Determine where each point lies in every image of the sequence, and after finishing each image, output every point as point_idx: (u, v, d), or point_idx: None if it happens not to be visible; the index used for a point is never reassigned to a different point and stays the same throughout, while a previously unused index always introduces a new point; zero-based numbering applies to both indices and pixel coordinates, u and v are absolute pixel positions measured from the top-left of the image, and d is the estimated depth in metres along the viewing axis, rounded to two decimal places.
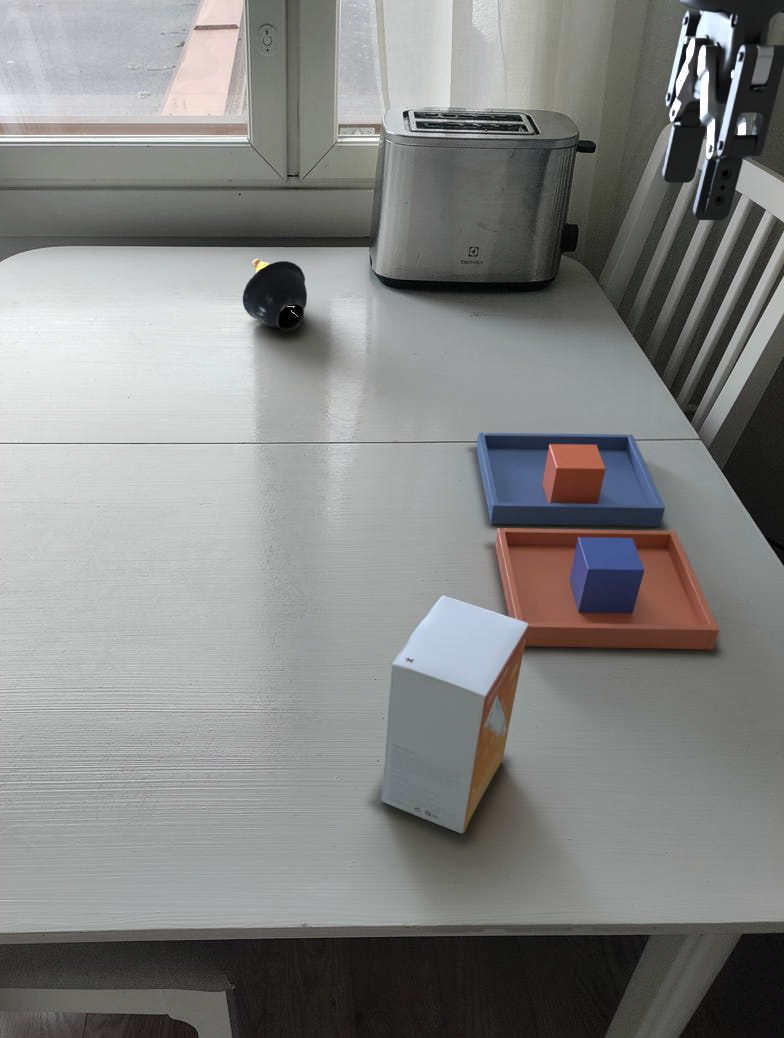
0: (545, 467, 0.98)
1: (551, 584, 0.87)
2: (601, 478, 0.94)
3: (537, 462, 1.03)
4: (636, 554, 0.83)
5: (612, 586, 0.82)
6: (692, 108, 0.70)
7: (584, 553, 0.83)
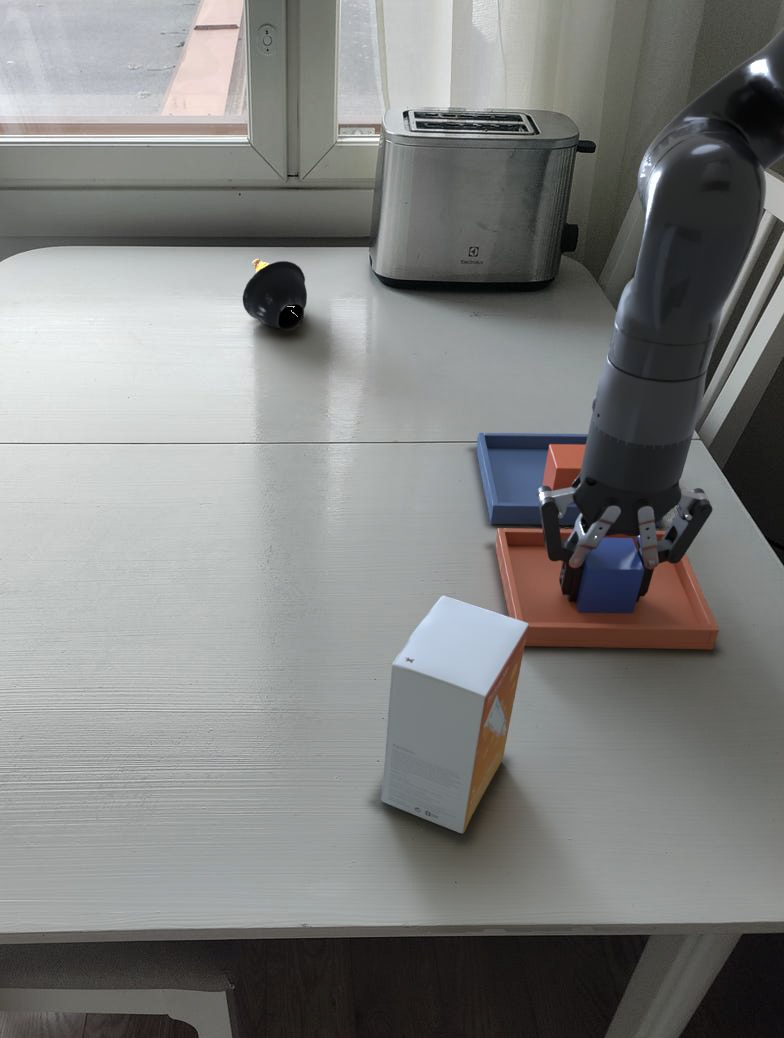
0: (545, 467, 0.98)
1: (551, 584, 0.87)
2: None
3: (537, 462, 1.03)
4: (636, 554, 0.83)
5: (612, 586, 0.82)
6: None
7: None
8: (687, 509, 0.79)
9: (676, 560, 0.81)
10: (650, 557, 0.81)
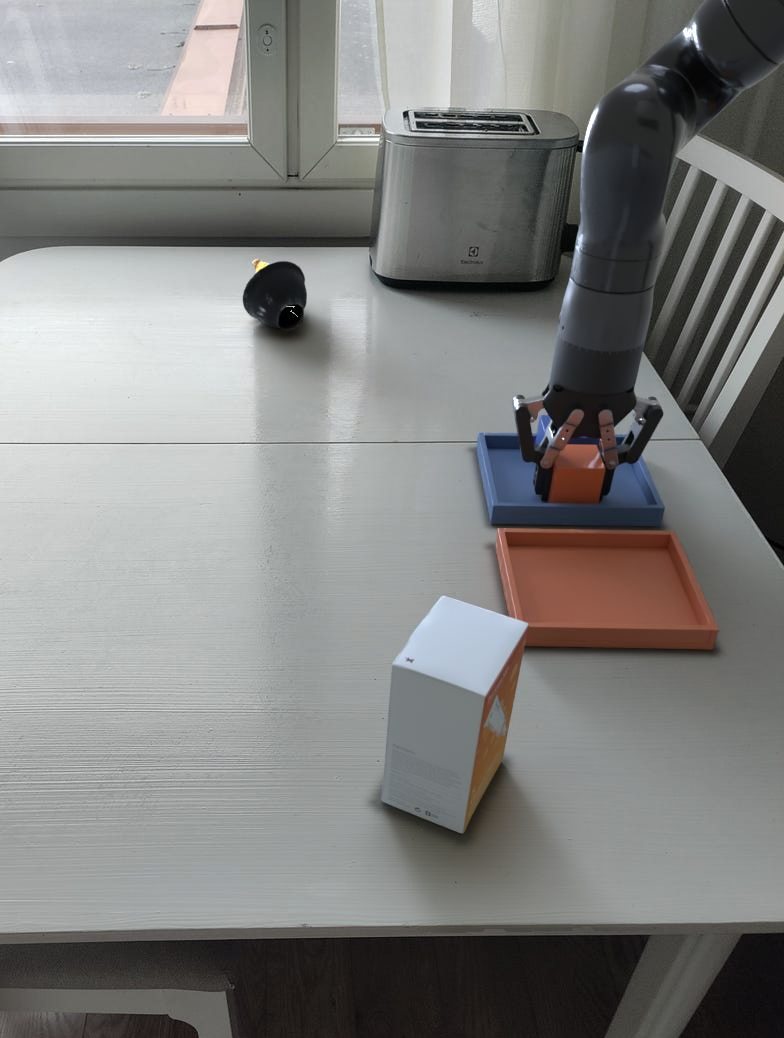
0: None
1: (551, 584, 0.87)
2: (601, 478, 0.94)
3: None
4: None
5: None
6: None
7: (544, 426, 0.99)
8: (642, 414, 0.91)
9: (633, 460, 0.93)
10: (610, 458, 0.94)
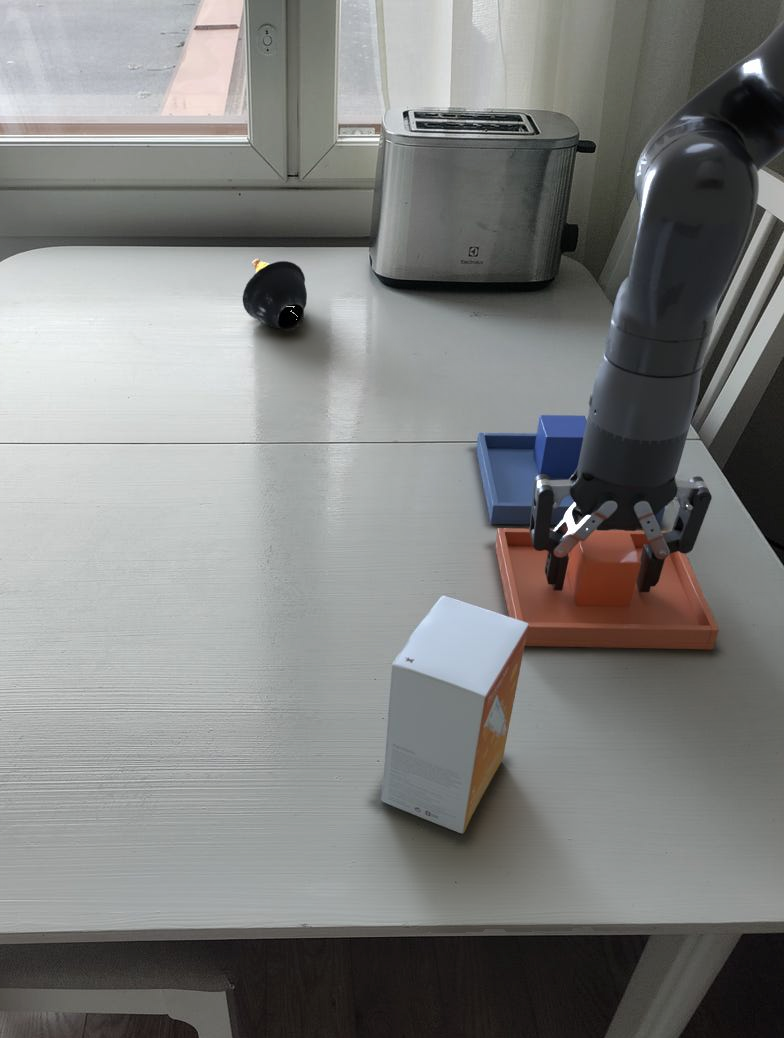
0: None
1: (551, 584, 0.87)
2: (636, 573, 0.82)
3: None
4: None
5: (567, 452, 0.99)
6: None
7: (544, 426, 0.99)
8: (687, 499, 0.80)
9: (687, 549, 0.82)
10: (659, 548, 0.82)
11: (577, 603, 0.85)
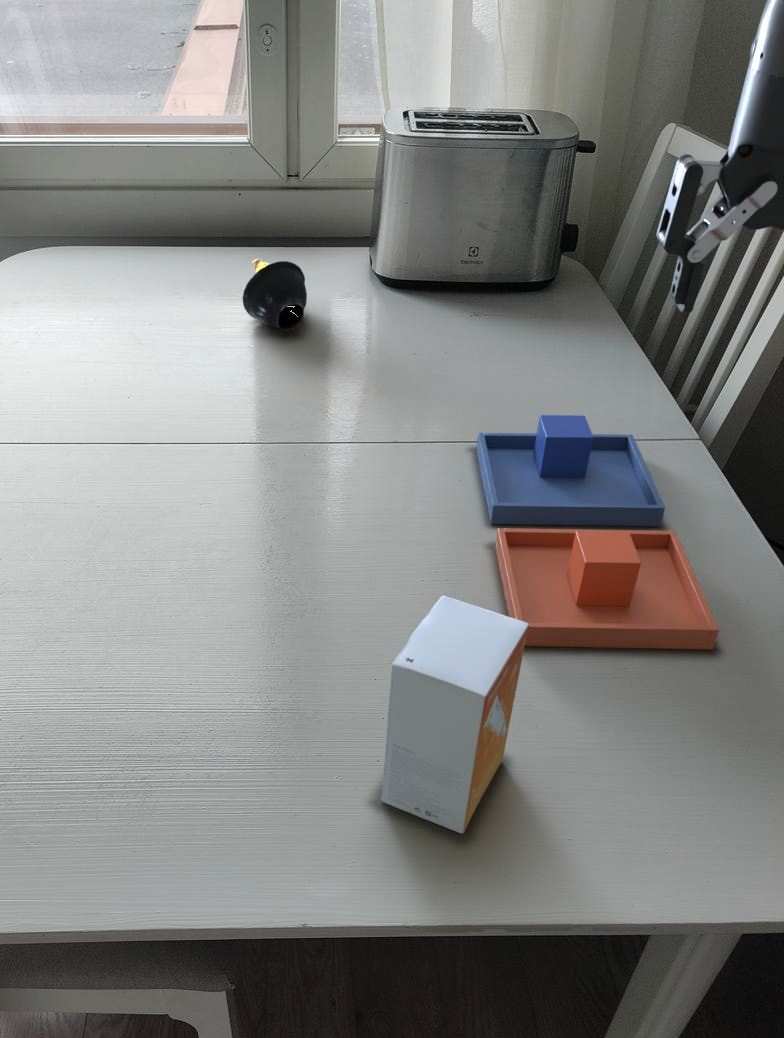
0: None
1: (551, 584, 0.87)
2: (636, 573, 0.82)
3: None
4: (587, 426, 0.99)
5: (567, 452, 0.99)
6: None
7: (544, 426, 0.99)
8: None
9: None
10: None
11: (577, 603, 0.85)
